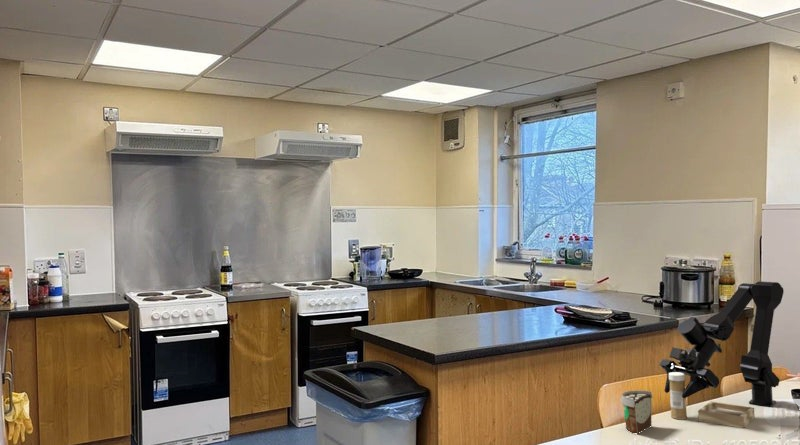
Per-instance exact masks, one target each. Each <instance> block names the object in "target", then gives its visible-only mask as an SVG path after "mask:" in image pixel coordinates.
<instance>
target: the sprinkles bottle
mask: <svg viewBox="0 0 800 445" xmlns="http://www.w3.org/2000/svg"><path fill="white" fill-rule="evenodd" d="M669 381H670V391H669V400H670V417H671V418H672V419H675V420H686V419H687V418H688V415H687V414H688V413H687V398H683V397H682V394H683V392H684V390H685V388H686V382H685V381H686V375H685V374H684V373H680V372H671V373H669Z"/></svg>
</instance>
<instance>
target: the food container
mask: <svg viewBox="0 0 800 445" xmlns="http://www.w3.org/2000/svg"><path fill="white" fill-rule="evenodd" d="M652 399H653V394H652V391H649V390H627V391H625V392H623V393H622V395H621V398H620V403H621V404H622V405H623V406H622V407H623V414H624V421H625V429H627V430H628V431H630V432H632V433H631V434H633V433H637V434H638V433H639V432H641V431H643V430H644V429H647V428H648V429H650V428H651V427H650V426H652V425H653V424H652ZM649 427H650V428H649ZM652 427H653V426H652ZM648 429H647V430H648ZM627 430H626V431H627ZM628 431H627V432H628ZM630 432H629V433H630ZM643 432H644V431H643ZM641 433H642V432H641ZM638 435H639V434H638Z"/></svg>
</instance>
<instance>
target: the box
mask: <svg viewBox="0 0 800 445" xmlns="http://www.w3.org/2000/svg"><path fill="white" fill-rule="evenodd" d="M697 411H698V415H697V416H698V421H699V422H704V423H705V422H706V423H709V424H711V423H712V424H718V425H723V426H728V427H734V428H740V429H744V428H746V427H747V426H748V425H749V424H750V423H751V422H752V421H754V419H755V407H751V406H745V405H737V404H731V403H723V402H717V401H709V402H708V403H707V404H706V405H703V406H702V407H701V408H699V409H698V410H697Z"/></svg>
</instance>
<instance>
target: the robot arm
mask: <svg viewBox="0 0 800 445" xmlns="http://www.w3.org/2000/svg"><path fill="white" fill-rule="evenodd" d="M784 293H785V292H784V288H783V286H782V285H781V284H780V283H779V282H777V281H776V282H775V281H761V280H760V281H757V282H755V283H747V282H745V283H739V285H738V286H737V290H736V291H735V293H733V295H732V296H731V298H730V299H729V300H728V302H726V304H725V305H724V306H723V308H722V309H721V310H720V311H719V312H718V313H716V314H714V315H712V316H710V317H709V318H708V319H706V321H704V322H703V324H701V323H700V321H699V319H698V318H696V317H694V316H690V317H689V319H686V320H683V321H682V322H681V323H679V324H678V325H677V332H678V333H679V335H680V336H682V337H683V338H684V339H685V341H686V342H687V344H689V345H691V346H693V347H692V348H690V347H689V348H686V349H682V348H678V347H673V346H672V347H671V350H670V354H669V358H670V359H666V358H663V359H661V361H660V363H659V366H660V367H661V368H662V369H663V370H664V371H665V373H666V381H665V384H664V385H665V386H664V390H663V391H664V393H665V394H668V393H670V381H669V373H671V372H680V373H684V374H685V376H689V377H690V378H689V382H688V383H687V385H686V386H685V390H684V392H683V394H682V397H683V398H686V399H687V398H688V397H690V396H692V395H694V394H696V393H698V392H700V391H703V390H705V389H709V388H710V387H711V388H714V389H717V388H718V387H719V385H720V379H719V377H718V376H717V375H716V374H715V373H714V372H713V371H712V370H711V369H709V368H710V366H711V363H710V362H709V361H710V360H711V358H712V357H713V356H714V353H719V354H721V353H723V349H722V347H721V343H717V342H716V341H719V342H720V341H721V342H723V341H725V342H726V341H728V340H729V339H730V337H731V335H732V334H733V331H735V322H736V321H737V319H738V318H739V317H740V315H741V314H742V313H743V312H744V310H745V309H746V307H747V306H748V305H749V304H750V302H752V300H753V303H754V304H755V307H756V308H755V315H754V322H753V328H752V329H753V330H752V336H751V341H750V342H751V344H750V349H749V351H748V353H746V354H742V355H741V358H740V359H741V360H740V365H739V367H740V372H741V374H742V377H743V380H744V382H745V383H749V384H751V387H750V388H751V399H750V400H749V401H748V404H750V405H757V406H758V405H759V406H765V407H773V406H774V405H775V404H777V401H776V400H774V399H773V388H776V387H779V384H780V378H779V377H778V376H777V375H776V373H774V372H773V363H772V361H771V358H770V356H769V348H770V342H771V341H770V340H771V333H772V329H773V328H772V327H773V322H774V321H773V320H774V314H775V309H777V308H778V307H779V306H780V304H781V303H782V300H783V296H784ZM715 340H716V341H715ZM671 359H675V360H676V361H677V363H678V364H679V365H680V366H679V365H678V364H677V363H676V362H675V360H671ZM706 367H708V368H706Z"/></svg>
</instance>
